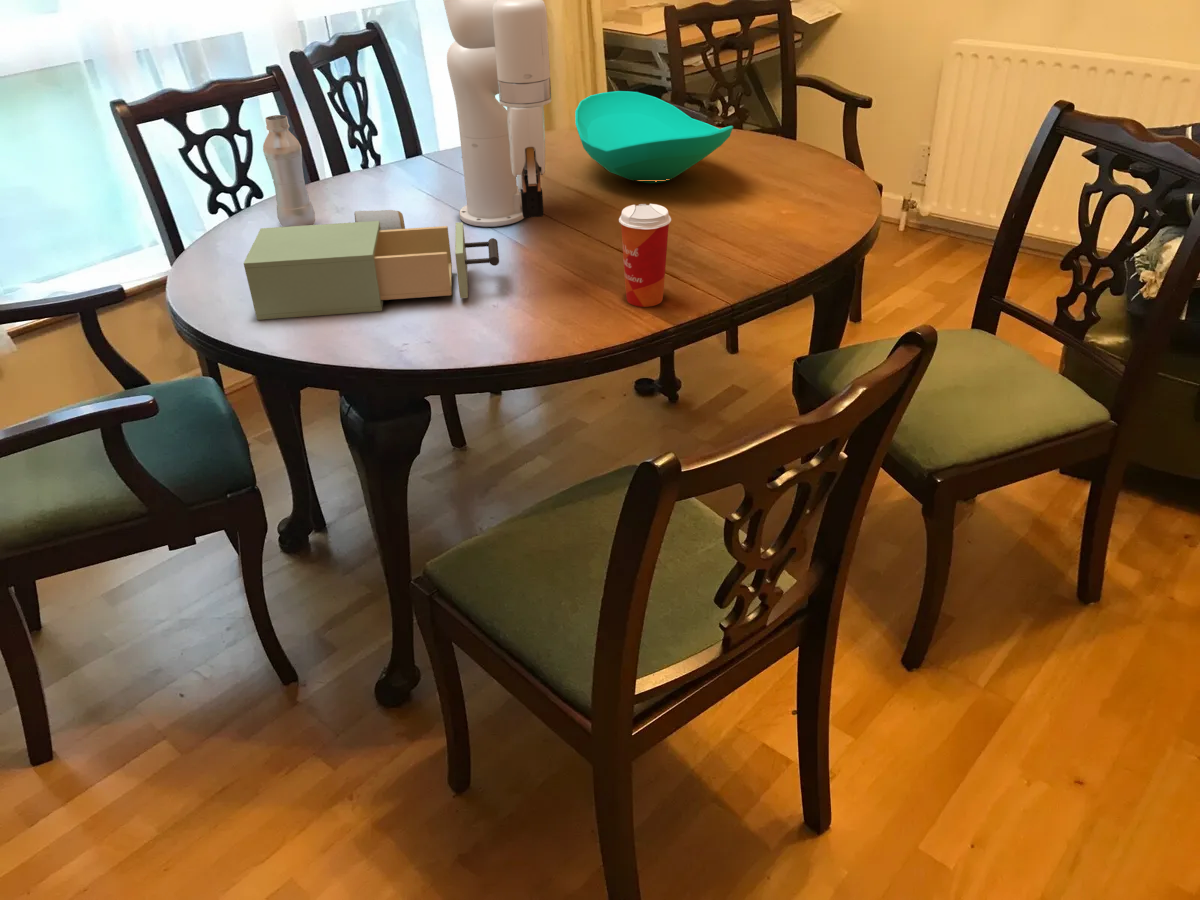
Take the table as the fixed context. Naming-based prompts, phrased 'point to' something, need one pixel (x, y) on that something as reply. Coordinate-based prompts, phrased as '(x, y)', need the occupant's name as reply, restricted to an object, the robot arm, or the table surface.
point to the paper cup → (644, 252)
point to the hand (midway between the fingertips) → (533, 215)
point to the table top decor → (643, 135)
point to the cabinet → (314, 270)
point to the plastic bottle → (287, 174)
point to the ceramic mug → (382, 218)
